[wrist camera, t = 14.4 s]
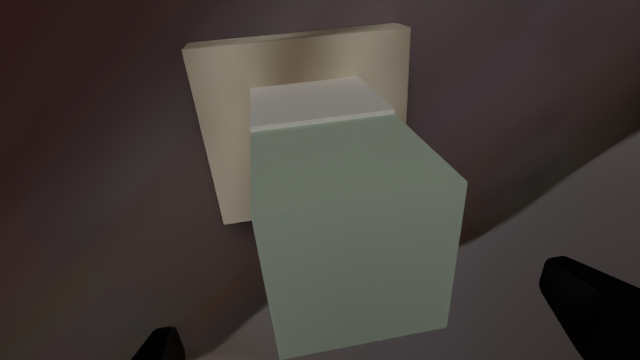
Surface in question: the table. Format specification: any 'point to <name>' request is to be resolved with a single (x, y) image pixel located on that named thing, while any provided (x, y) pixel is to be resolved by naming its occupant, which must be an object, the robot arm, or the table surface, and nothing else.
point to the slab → (279, 69)
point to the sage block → (353, 232)
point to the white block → (314, 103)
